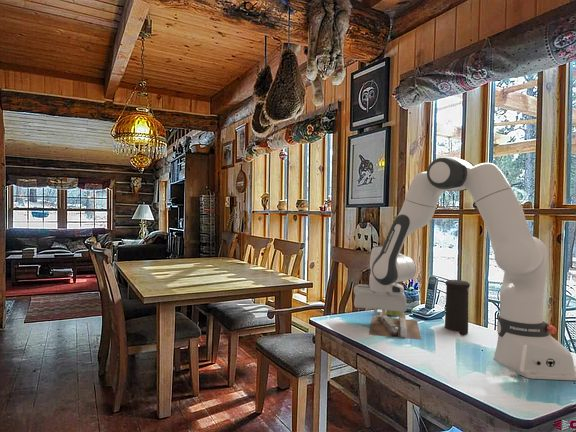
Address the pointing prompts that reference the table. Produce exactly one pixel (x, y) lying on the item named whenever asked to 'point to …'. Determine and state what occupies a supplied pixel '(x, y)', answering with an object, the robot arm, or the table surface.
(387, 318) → the loose tong leg
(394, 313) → the plant pot
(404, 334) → the fixed tong leg
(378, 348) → the table surface
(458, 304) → the container
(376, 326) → the walnut board
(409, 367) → the table surface
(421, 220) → the robot arm
